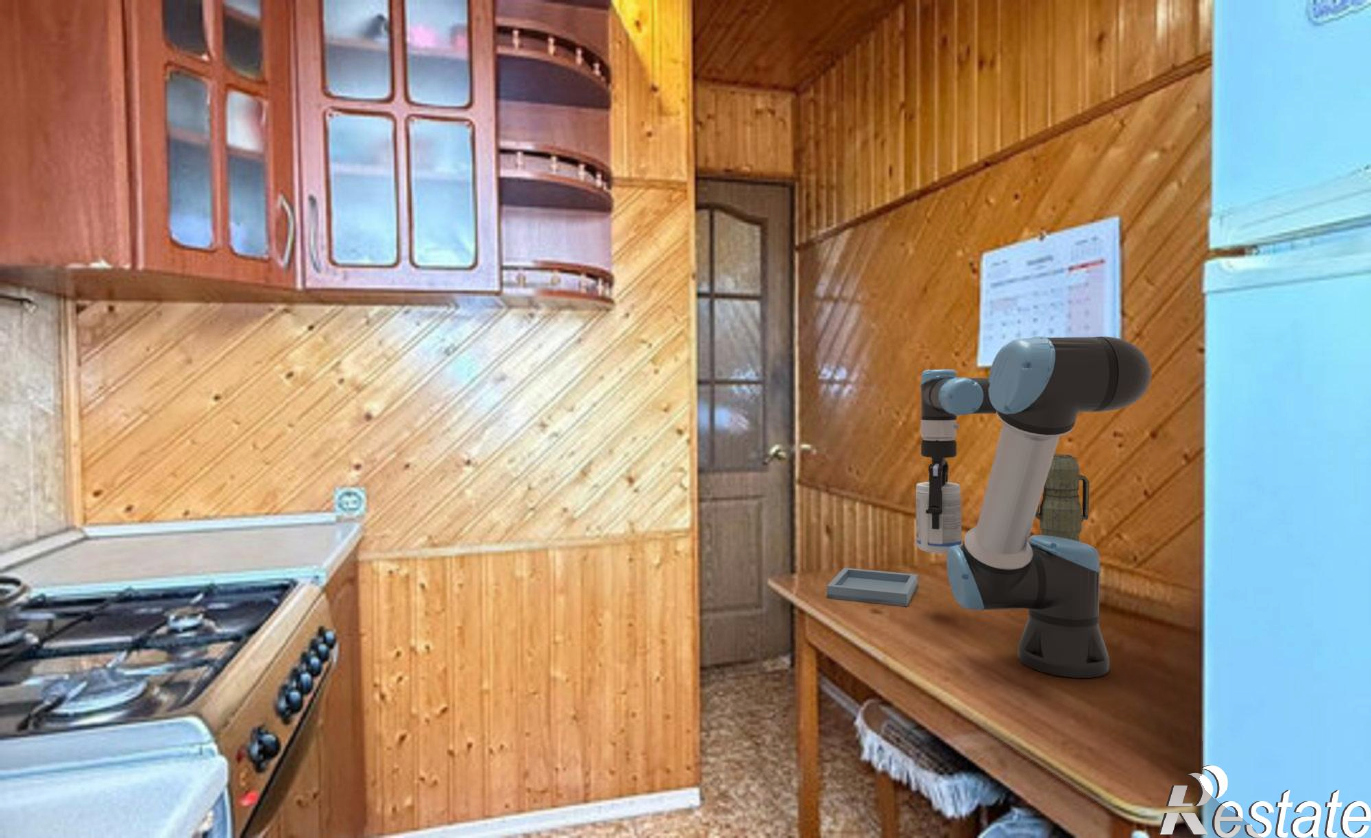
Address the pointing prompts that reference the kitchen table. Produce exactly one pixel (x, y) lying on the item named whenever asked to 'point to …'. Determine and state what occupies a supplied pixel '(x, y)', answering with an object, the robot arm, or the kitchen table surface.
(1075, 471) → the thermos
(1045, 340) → the robot arm
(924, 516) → the supplement tub
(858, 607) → the kitchen table surface
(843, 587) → the tray
